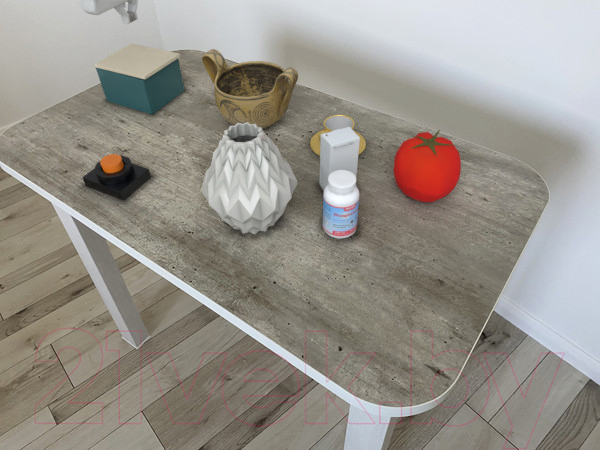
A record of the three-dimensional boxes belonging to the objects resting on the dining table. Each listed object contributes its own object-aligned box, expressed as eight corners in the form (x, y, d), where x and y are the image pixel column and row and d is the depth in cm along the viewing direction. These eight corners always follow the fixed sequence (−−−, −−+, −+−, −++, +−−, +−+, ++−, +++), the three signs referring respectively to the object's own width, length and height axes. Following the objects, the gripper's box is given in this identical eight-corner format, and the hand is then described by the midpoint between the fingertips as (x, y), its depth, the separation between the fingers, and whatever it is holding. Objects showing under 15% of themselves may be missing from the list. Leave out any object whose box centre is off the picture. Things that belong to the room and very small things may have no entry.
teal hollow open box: (185, 90, 122) (178, 57, 116) (152, 114, 115) (143, 80, 108) (140, 78, 128) (132, 46, 121) (106, 101, 120) (95, 67, 114)
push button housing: (85, 186, 96) (78, 170, 93) (114, 164, 101) (108, 148, 98) (123, 201, 92) (117, 184, 90) (151, 177, 97) (146, 161, 95)
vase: (233, 182, 96) (220, 99, 83) (310, 201, 91) (310, 115, 78) (191, 237, 85) (169, 151, 72) (277, 262, 80) (269, 174, 67)
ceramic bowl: (194, 128, 110) (181, 66, 100) (234, 94, 121) (227, 34, 110) (279, 153, 102) (275, 88, 92) (314, 114, 113) (314, 53, 102)
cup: (343, 123, 110) (344, 102, 106) (377, 148, 103) (379, 126, 99) (299, 140, 105) (298, 119, 102) (331, 168, 98) (332, 146, 94)
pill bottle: (335, 244, 83) (337, 195, 75) (316, 224, 87) (316, 175, 79) (363, 231, 85) (368, 181, 77) (343, 211, 89) (346, 162, 81)
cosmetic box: (328, 198, 92) (330, 146, 83) (319, 185, 94) (319, 133, 86) (356, 189, 93) (360, 137, 85) (346, 176, 96) (349, 125, 88)
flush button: (98, 170, 94) (95, 163, 92) (113, 159, 96) (110, 152, 95) (113, 176, 92) (111, 168, 91) (128, 164, 95) (125, 157, 93)
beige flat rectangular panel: (180, 56, 116) (179, 53, 115) (145, 79, 108) (144, 76, 107) (132, 46, 121) (131, 43, 121) (95, 67, 113) (94, 64, 113)
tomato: (447, 169, 97) (459, 120, 89) (462, 215, 87) (476, 164, 79) (386, 170, 97) (392, 120, 89) (394, 215, 88) (402, 165, 80)
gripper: (135, -65, 102) (150, 3, 112) (60, -38, 89) (85, 36, 99) (159, -62, 100) (172, 7, 110) (85, -34, 87) (108, 41, 97)
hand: (130, 21), depth 104 cm, fingers closed
